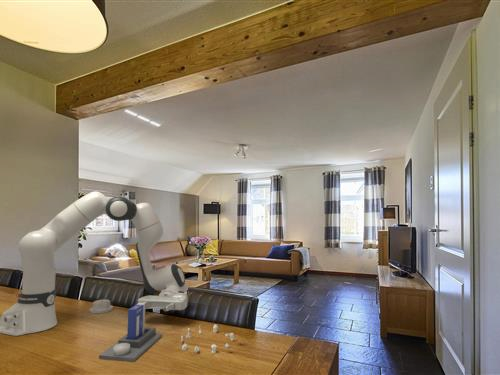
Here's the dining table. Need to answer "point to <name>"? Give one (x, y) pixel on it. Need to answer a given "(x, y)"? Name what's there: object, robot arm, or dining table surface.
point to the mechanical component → (101, 306)
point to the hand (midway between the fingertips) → (154, 308)
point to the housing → (131, 346)
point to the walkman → (136, 321)
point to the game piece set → (200, 333)
